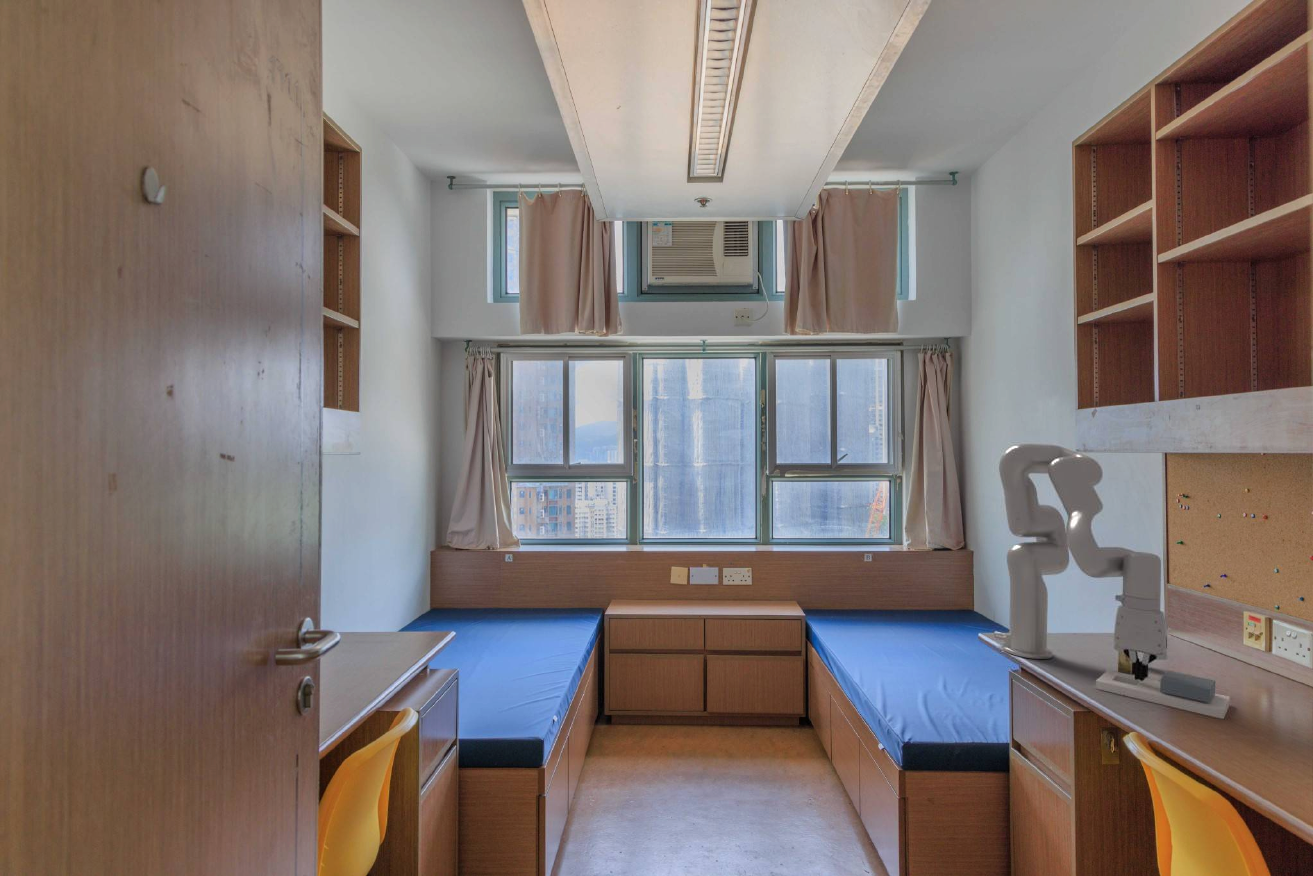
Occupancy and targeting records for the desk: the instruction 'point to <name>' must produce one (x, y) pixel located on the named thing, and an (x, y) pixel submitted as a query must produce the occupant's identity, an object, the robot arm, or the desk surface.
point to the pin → (1124, 664)
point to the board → (1160, 694)
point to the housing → (1187, 686)
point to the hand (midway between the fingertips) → (1139, 678)
